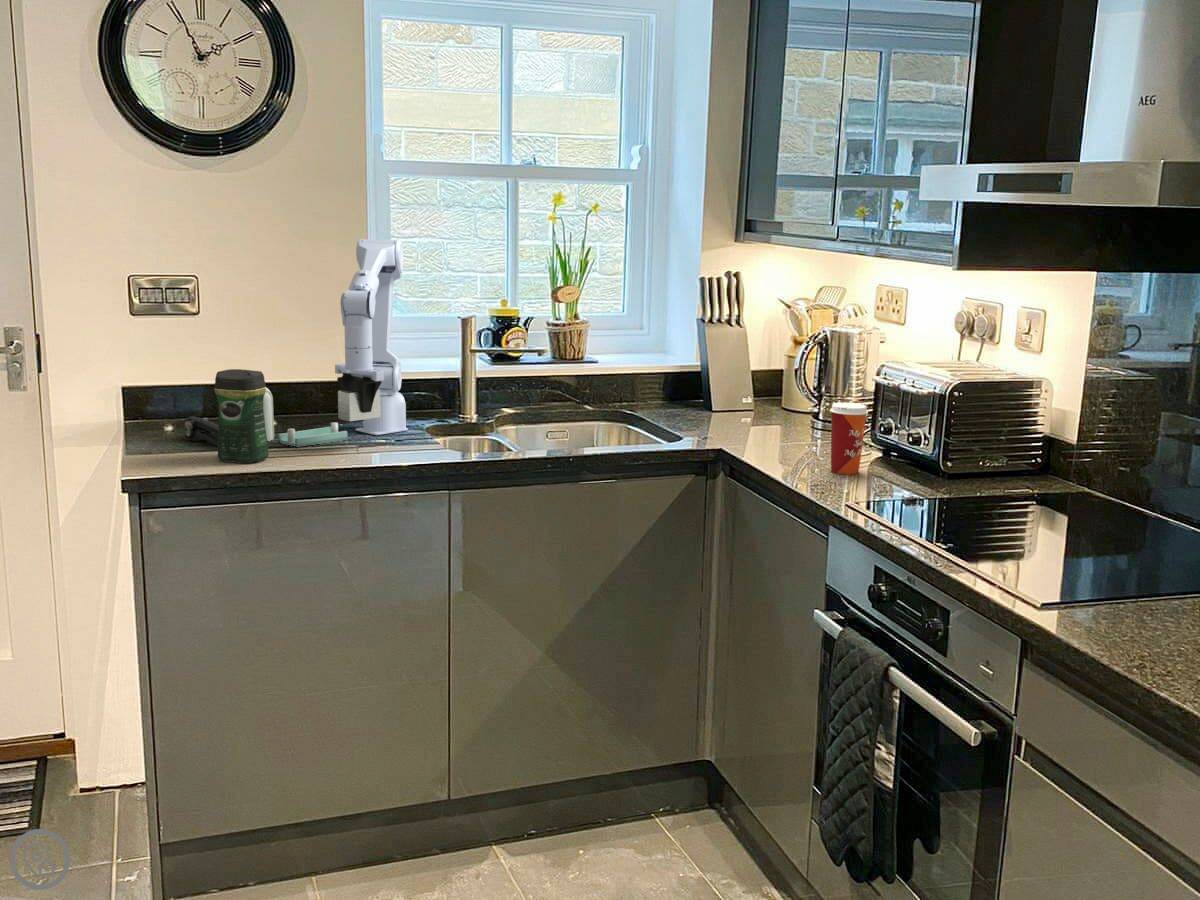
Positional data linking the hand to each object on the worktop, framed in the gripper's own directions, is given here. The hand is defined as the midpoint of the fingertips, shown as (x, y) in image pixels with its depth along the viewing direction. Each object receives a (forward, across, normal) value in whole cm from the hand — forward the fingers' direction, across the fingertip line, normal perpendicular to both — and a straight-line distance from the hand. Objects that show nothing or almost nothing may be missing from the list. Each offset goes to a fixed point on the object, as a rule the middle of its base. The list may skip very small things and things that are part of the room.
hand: (359, 410), depth 248 cm
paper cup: (+9, +83, +61) cm, 103 cm away
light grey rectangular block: (+2, 0, 0) cm, 2 cm away
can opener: (+9, -25, -20) cm, 34 cm away
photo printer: (+9, -24, -10) cm, 27 cm away
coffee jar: (+9, -7, -24) cm, 26 cm away
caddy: (+8, -13, -3) cm, 16 cm away
